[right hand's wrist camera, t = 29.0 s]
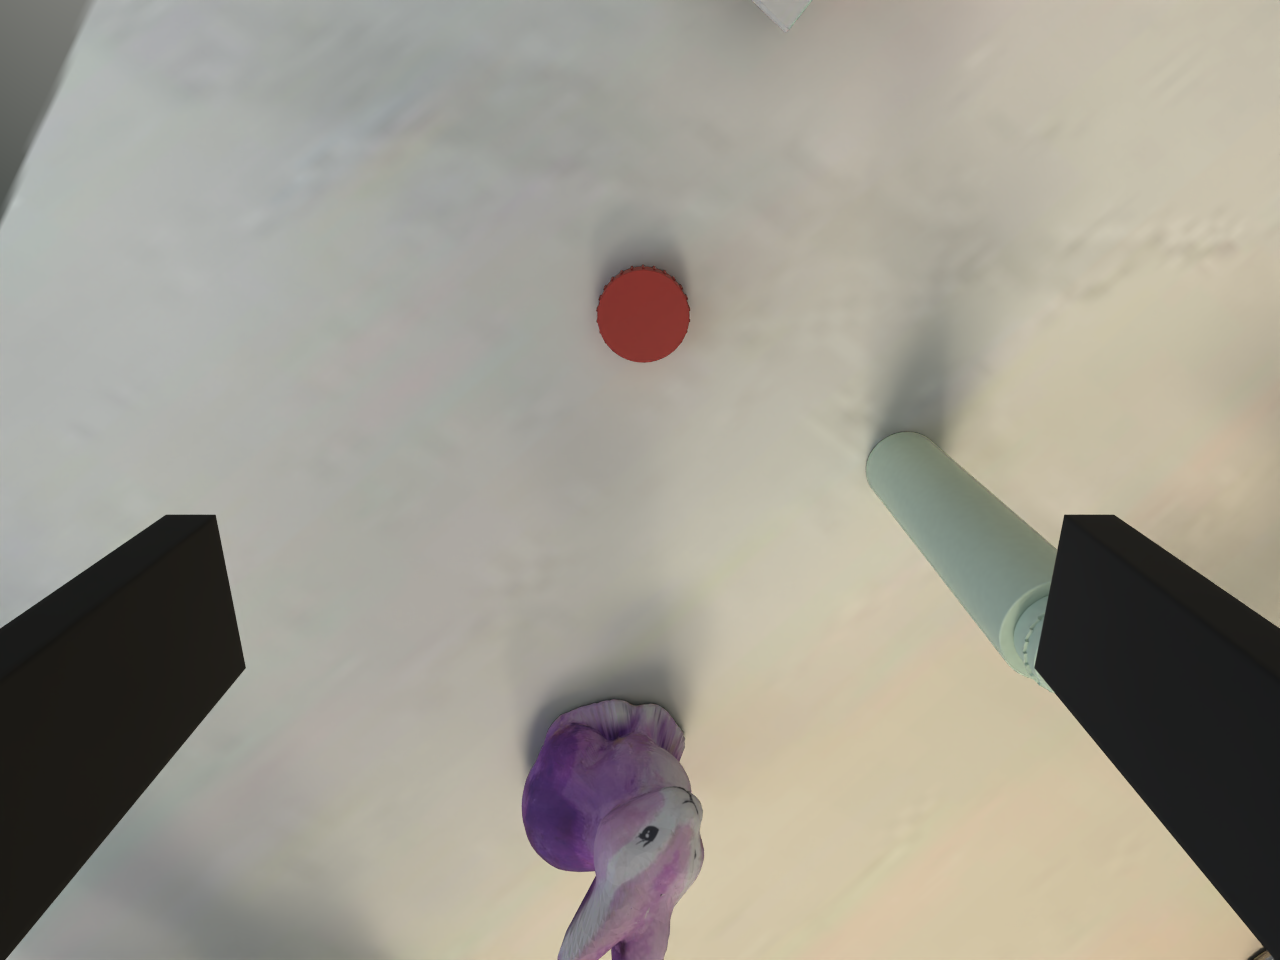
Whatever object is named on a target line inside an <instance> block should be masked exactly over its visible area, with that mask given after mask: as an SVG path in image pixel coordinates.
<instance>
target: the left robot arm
mask: <svg viewBox="0 0 1280 960" xmlns="http://www.w3.org/2000/svg"><path fill="white" fill-rule="evenodd" d="M1253 960H1274V958H1273V957H1272V956H1271V955H1270V954H1269V952H1268V951H1267V950H1266V951H1264V952H1263V953H1261V954H1260V955H1258V956H1257V957H1256V958H1255V959H1253Z"/></svg>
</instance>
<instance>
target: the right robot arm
mask: <svg viewBox="0 0 1280 960" xmlns="http://www.w3.org/2000/svg"><path fill="white" fill-rule="evenodd" d="M245 668H246V667H245V662H244V657H243V651H242V646H241V641H240V636H239V631H238V626H237V621H236V616H235V611H234V606H233V601H232V596H231V591H230V586H229V580H228V575H227V570H226V565H225V560H224V555H223V550H222V545H221V540H220V535H219V530H218V525H217V520H216V515H165V516H164V517H162V518H161V519H159V520H158V521H156V522H155V523H153V524H152V525H150V526H149V527H148V528H146V529H145V530H143V531H142V532H140V533H139V534H137V535H136V536H134V537H133V538H132V539H130V540H129V541H127V542H126V543H124V544H123V545H121V546H120V547H118V548H117V549H116V550H114V551H113V552H111V553H110V554H108V555H107V556H105V557H104V558H102V559H101V560H99V561H98V562H97V563H95V564H94V565H92V566H91V567H89V568H88V569H86V570H85V571H83V572H82V573H81V574H79V575H78V576H76V577H75V578H73V579H72V580H70V581H69V582H67V583H66V584H65V585H63V586H62V587H60V588H59V589H57V590H56V591H54V592H53V593H51V594H50V595H49V596H47V597H46V598H44V599H43V600H41V601H40V602H38V603H37V604H35V605H34V606H32V607H31V608H30V609H28V610H27V611H25V612H24V613H22V614H21V615H19V616H18V617H16V618H15V619H14V620H12V621H11V622H9V623H8V624H6V625H5V626H3V627H2V628H0V960H6V958H7V957H8V956H9V955H10V954H11V952H12V951H13V950H14V949H15V947H16V946H17V945H18V944H19V943H20V941H21V940H22V939H23V938H24V937H25V935H26V934H27V933H28V932H29V930H30V929H31V928H32V927H33V926H34V924H35V923H36V922H37V921H38V920H39V918H40V917H41V916H42V915H43V913H44V912H45V911H46V910H47V909H48V907H49V906H50V905H51V904H52V903H53V901H54V900H55V899H56V898H57V896H58V895H59V894H60V893H61V892H62V890H63V889H64V888H65V887H66V886H67V884H68V883H69V882H70V881H71V879H72V878H73V877H74V876H75V875H76V873H77V872H78V871H79V870H80V869H81V867H82V866H83V865H84V864H85V862H86V861H87V860H88V859H89V858H90V856H91V855H92V854H93V853H94V852H95V850H96V849H97V848H98V847H99V845H100V844H101V843H102V842H103V841H104V839H105V838H106V837H107V836H108V835H109V833H110V832H111V831H112V830H113V828H114V827H115V826H116V825H117V824H118V822H119V821H120V820H121V819H122V818H123V816H124V815H125V814H126V813H127V811H128V810H129V809H130V808H131V807H132V805H133V804H134V803H135V802H136V801H137V799H138V798H139V797H140V796H141V794H142V793H143V792H144V791H145V790H146V788H147V787H148V786H149V785H150V784H151V782H152V781H153V780H154V779H155V778H156V776H157V775H158V774H159V773H160V771H161V770H162V769H163V768H164V767H165V765H166V764H167V763H168V762H169V761H170V759H171V758H172V757H173V756H174V754H175V753H176V752H177V751H178V750H179V748H180V747H181V746H182V745H183V744H184V742H185V741H186V740H187V739H188V737H189V736H190V735H191V734H192V733H193V731H194V730H195V729H196V728H197V727H198V725H199V724H200V723H201V722H202V720H203V719H204V718H205V717H206V716H207V714H208V713H209V712H210V711H211V710H212V708H213V707H214V706H215V705H216V703H217V702H218V701H219V700H220V699H221V697H222V696H223V695H224V694H225V693H226V691H227V690H228V689H229V688H230V686H231V685H232V684H233V683H234V682H235V680H236V679H237V678H238V677H239V676H240V674H241V673H242V672H243V671H244V669H245ZM1034 668H1035V669H1036V671H1037V672H1038V673H1039V674H1040V676H1041V677H1042V678H1043V679H1044V680H1045V682H1046V683H1047V684H1048V685H1049V686H1050V688H1051V689H1052V690H1053V691H1054V693H1055V694H1056V695H1057V696H1058V697H1059V699H1060V700H1061V701H1062V702H1063V703H1064V705H1065V706H1066V707H1067V708H1068V710H1069V711H1070V712H1071V713H1072V714H1073V716H1074V717H1075V718H1076V719H1077V720H1078V722H1079V723H1080V724H1081V725H1082V727H1083V728H1084V729H1085V730H1086V731H1087V733H1088V734H1089V735H1090V736H1091V737H1092V739H1093V740H1094V741H1095V742H1096V744H1097V745H1098V746H1099V747H1100V748H1101V750H1102V751H1103V752H1104V753H1105V754H1106V756H1107V757H1108V758H1109V759H1110V761H1111V762H1112V763H1113V764H1114V765H1115V767H1116V768H1117V769H1118V770H1119V771H1120V773H1121V774H1122V775H1123V776H1124V778H1125V779H1126V780H1127V781H1128V782H1129V784H1130V785H1131V786H1132V787H1133V788H1134V790H1135V791H1136V792H1137V793H1138V794H1139V796H1140V797H1141V798H1142V799H1143V801H1144V802H1145V803H1146V804H1147V805H1148V807H1149V808H1150V809H1151V810H1152V811H1153V813H1154V814H1155V815H1156V816H1157V818H1158V819H1159V820H1160V821H1161V822H1162V824H1163V825H1164V826H1165V827H1166V828H1167V830H1168V831H1169V832H1170V833H1171V835H1172V836H1173V837H1174V838H1175V839H1176V841H1177V842H1178V843H1179V844H1180V845H1181V847H1182V848H1183V849H1184V850H1185V852H1186V853H1187V854H1188V855H1189V856H1190V858H1191V859H1192V860H1193V861H1194V862H1195V864H1196V865H1197V866H1198V867H1199V869H1200V870H1201V871H1202V872H1203V873H1204V875H1205V876H1206V877H1207V878H1208V879H1209V881H1210V882H1211V883H1212V884H1213V886H1214V887H1215V888H1216V889H1217V890H1218V892H1219V893H1220V894H1221V895H1222V896H1223V898H1224V899H1225V900H1226V901H1227V903H1228V904H1229V905H1230V906H1231V907H1232V909H1233V910H1234V911H1235V912H1236V913H1237V915H1238V916H1239V917H1240V918H1241V920H1242V921H1243V922H1244V923H1245V924H1246V926H1247V927H1248V928H1249V929H1250V930H1251V932H1252V933H1253V934H1254V935H1255V937H1256V938H1257V939H1258V940H1259V941H1260V943H1261V944H1262V945H1263V946H1264V947H1265V949H1266V950H1267V951H1268V952H1269V954H1270V955H1271V956H1272V957H1273V958H1274V960H1280V628H1278V627H1277V626H1275V625H1274V624H1272V623H1271V622H1269V621H1268V620H1266V619H1265V618H1264V617H1262V616H1261V615H1259V614H1258V613H1256V612H1255V611H1253V610H1252V609H1250V608H1249V607H1248V606H1246V605H1245V604H1243V603H1242V602H1240V601H1239V600H1237V599H1236V598H1234V597H1233V596H1231V595H1230V594H1229V593H1227V592H1226V591H1224V590H1223V589H1221V588H1220V587H1218V586H1217V585H1215V584H1214V583H1213V582H1211V581H1210V580H1208V579H1207V578H1205V577H1204V576H1202V575H1201V574H1199V573H1198V572H1197V571H1195V570H1194V569H1192V568H1191V567H1189V566H1188V565H1186V564H1185V563H1183V562H1182V561H1181V560H1179V559H1178V558H1176V557H1175V556H1173V555H1172V554H1170V553H1169V552H1167V551H1166V550H1164V549H1163V548H1162V547H1160V546H1159V545H1157V544H1156V543H1154V542H1153V541H1151V540H1150V539H1148V538H1147V537H1146V536H1144V535H1143V534H1141V533H1140V532H1138V531H1137V530H1135V529H1134V528H1132V527H1131V526H1130V525H1128V524H1127V523H1125V522H1124V521H1122V520H1121V519H1119V518H1118V517H1116V516H1115V515H1064V520H1063V525H1062V530H1061V535H1060V540H1059V545H1058V550H1057V555H1056V560H1055V565H1054V570H1053V575H1052V580H1051V586H1050V591H1049V596H1048V601H1047V606H1046V611H1045V616H1044V621H1043V626H1042V631H1041V636H1040V641H1039V646H1038V651H1037V657H1036V662H1035V667H1034Z"/></svg>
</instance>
